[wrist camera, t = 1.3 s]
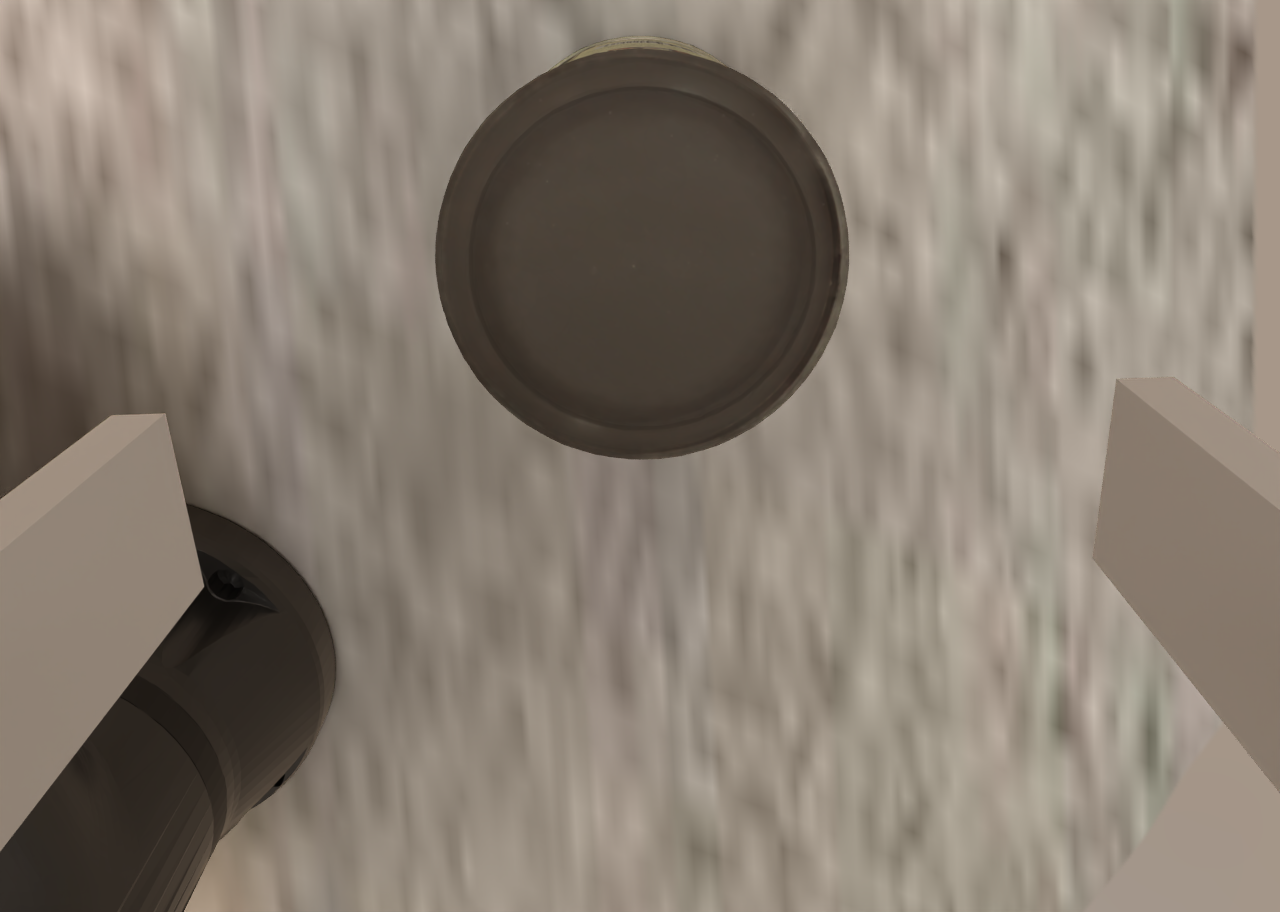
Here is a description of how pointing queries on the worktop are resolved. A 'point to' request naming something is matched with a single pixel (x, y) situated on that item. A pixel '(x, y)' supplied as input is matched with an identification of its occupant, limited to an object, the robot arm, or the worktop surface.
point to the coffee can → (642, 251)
